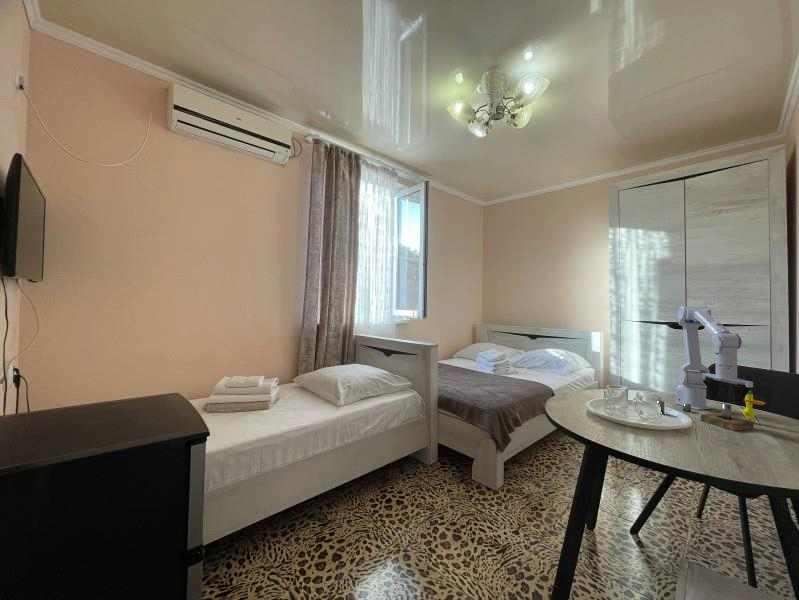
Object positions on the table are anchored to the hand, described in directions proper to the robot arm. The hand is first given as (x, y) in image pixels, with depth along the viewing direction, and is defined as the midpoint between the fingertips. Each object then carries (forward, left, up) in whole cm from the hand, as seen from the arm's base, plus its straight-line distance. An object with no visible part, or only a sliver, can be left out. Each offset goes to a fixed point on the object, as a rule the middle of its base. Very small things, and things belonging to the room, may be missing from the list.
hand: (726, 401), depth 121 cm
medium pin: (-15, -12, -8) cm, 21 cm away
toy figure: (+1, +12, -9) cm, 15 cm away
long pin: (0, 0, -8) cm, 8 cm away
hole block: (0, 0, -8) cm, 8 cm away
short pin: (-15, +2, -9) cm, 17 cm away
